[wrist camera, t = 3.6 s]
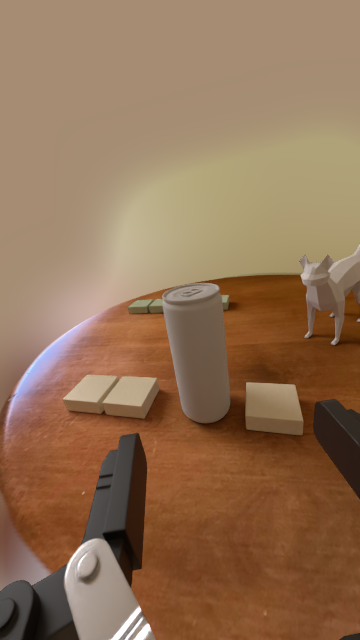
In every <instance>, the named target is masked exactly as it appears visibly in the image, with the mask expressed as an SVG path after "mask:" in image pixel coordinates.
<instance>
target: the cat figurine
mask: <svg viewBox="0 0 360 640" xmlns="http://www.w3.org/2000/svg"><path fill="white" fill-rule="evenodd" d="M299 262H300V263H301V265H302V266H303V268H304V272H303V273H302V274H301V278H302V281H303V284H304V285H307V294H306V299H307V310H308V324H309V332H308V333H307V334H306V335H305V336H304V337H305V338H309V337H310V336H311V335H312V330H313V324H314V319H315V310H316V308H317V309H318V310H320V311H325V310H330V309H332V311H333V313H332V314H331V315H330V317H333V316H334V315H335V339H334V340H333V341H332V342H331V344H332V345H336V344H337V343H338V342H339V337H340V333H341V329H342V325H343V322H344V306H345V297H346V296H347V295H348V293H349V292H350V291H351V290H352V291H353V293H354V296H355V300H356V302H357V304H358V305H360V244H359V246H358V248H357V250H356V251H355V253H354V254H353V255H352V256H349V257H347V258H344V259H342V260H339V261H337V262H333V260H332V259H331V258H330V257H329V255H327V256H326V258H325V259H324V260H323V261H322V263H321V262H316V263H314V262H313V263H309V261H308V259H307V257H306V255H304V256H303V258H302V259H301V260H300V261H299ZM357 322H360V318H359V319H358V320H357Z"/></svg>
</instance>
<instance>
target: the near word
mask: <svg viewBox="0 0 360 640" xmlns="http://www.w3.org/2000/svg"><path fill="white" fill-rule="evenodd" d="M159 390H160V388H159V384H158V380H157V378H148V377H128V376H123V377H122V378H121V379H120V380H119V378H118V376H105V375H86V376H85V377H84V378H83V379H82V380H81V381H80V382H79V383H78V384H77V385H76V386H75V387H74V388H73V389H72V390H71V391H70V392H69V393H68V394H67V395H66V396H65V397H64V398H63V401H64V404H65V406H66V408H67V410H69V411H78V412H88V413H97V414H101V413H102V412H103V411H104V410H105V412H106V415H114V416H124V417H133V418H142V419H145V417H146V415H147V413H148V411H149V409H150V407H151V405H152V403H153V401H154V399H155V397H156V395H157V393H158V391H159ZM245 420H246V429H247V430H255V431H264V432H274V433H283V434H292V435H303V423H304V421H303V417H302V412H301V408H300V404H299V400H298V396H297V391H296V387H295V385H288V384H268V383H246V409H245Z"/></svg>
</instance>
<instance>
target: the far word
mask: <svg viewBox="0 0 360 640" xmlns="http://www.w3.org/2000/svg"><path fill="white" fill-rule="evenodd" d="M221 296H222V304H223V310H228V306H229V295H221ZM163 301H164V300H163V299H156V300H155V301H154V300H153V299H152V300H136V301H135V302H134V303H133V304H131V305H130V306H129V307H128V310H129V314H139V313H148V312H149V311H150V313H163V312H164V311H163Z"/></svg>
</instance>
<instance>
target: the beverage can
mask: <svg viewBox="0 0 360 640" xmlns="http://www.w3.org/2000/svg"><path fill="white" fill-rule="evenodd" d="M163 300H164V301H163V311H164V317H165V322H166V327H167V332H168V338H169V343H170V348H171V353H172V359H173V364H174V369H175V374H176V380H177V385H178V390H179V395H180V401H181V406H182V410H183V412H184V414H185V415H186V416H187V417H188V418H190V419H192V420H193V421H196V422H199V423H213V422H216V421H218V420H220V419H221V418H223V417H224V416H225V415H226V413H227V412H228V410H229V407H230V389H229V378H228V366H227V354H226V341H225V328H224V315H223V304H222V296H221V294H220V293H219V287H218V286H217V285H215V284H210V283H195V284H187V285H182V286H178V287H175V288H172V289H170V290H168V291H166V292H165V293H164V294H163Z"/></svg>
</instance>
